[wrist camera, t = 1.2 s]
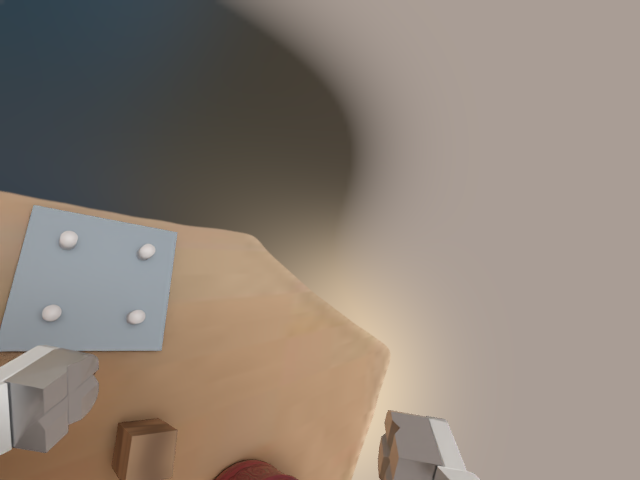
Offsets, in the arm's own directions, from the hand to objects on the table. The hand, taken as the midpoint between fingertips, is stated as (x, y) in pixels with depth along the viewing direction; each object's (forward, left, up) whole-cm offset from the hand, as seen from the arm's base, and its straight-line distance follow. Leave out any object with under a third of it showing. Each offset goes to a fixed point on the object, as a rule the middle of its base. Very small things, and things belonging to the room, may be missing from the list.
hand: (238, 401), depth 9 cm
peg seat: (-2, +9, -41) cm, 42 cm away
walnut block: (+8, -8, -41) cm, 43 cm away
